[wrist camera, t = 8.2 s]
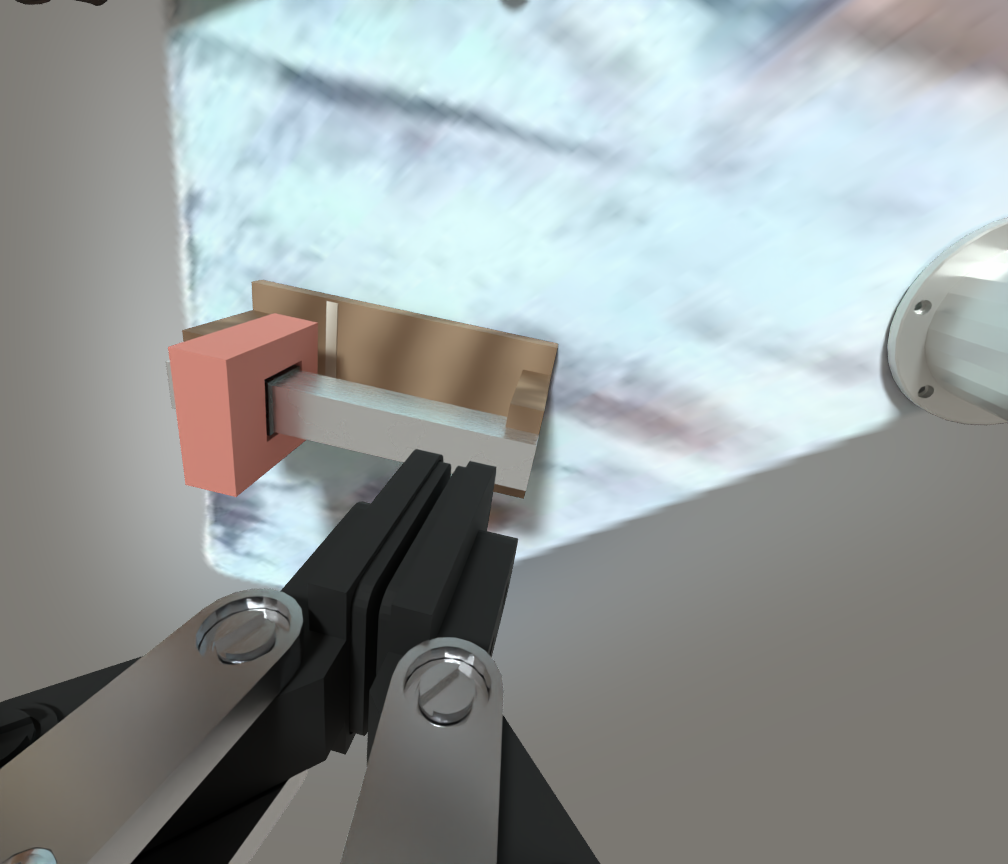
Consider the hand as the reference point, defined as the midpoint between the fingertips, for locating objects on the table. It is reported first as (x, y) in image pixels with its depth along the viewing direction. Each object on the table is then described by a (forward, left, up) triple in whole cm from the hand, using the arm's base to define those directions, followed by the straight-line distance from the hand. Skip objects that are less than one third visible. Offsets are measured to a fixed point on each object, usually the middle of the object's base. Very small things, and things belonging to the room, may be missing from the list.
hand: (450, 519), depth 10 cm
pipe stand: (+9, +7, -25) cm, 28 cm away
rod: (+9, +7, -19) cm, 22 cm away
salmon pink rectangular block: (+15, +7, -21) cm, 27 cm away
